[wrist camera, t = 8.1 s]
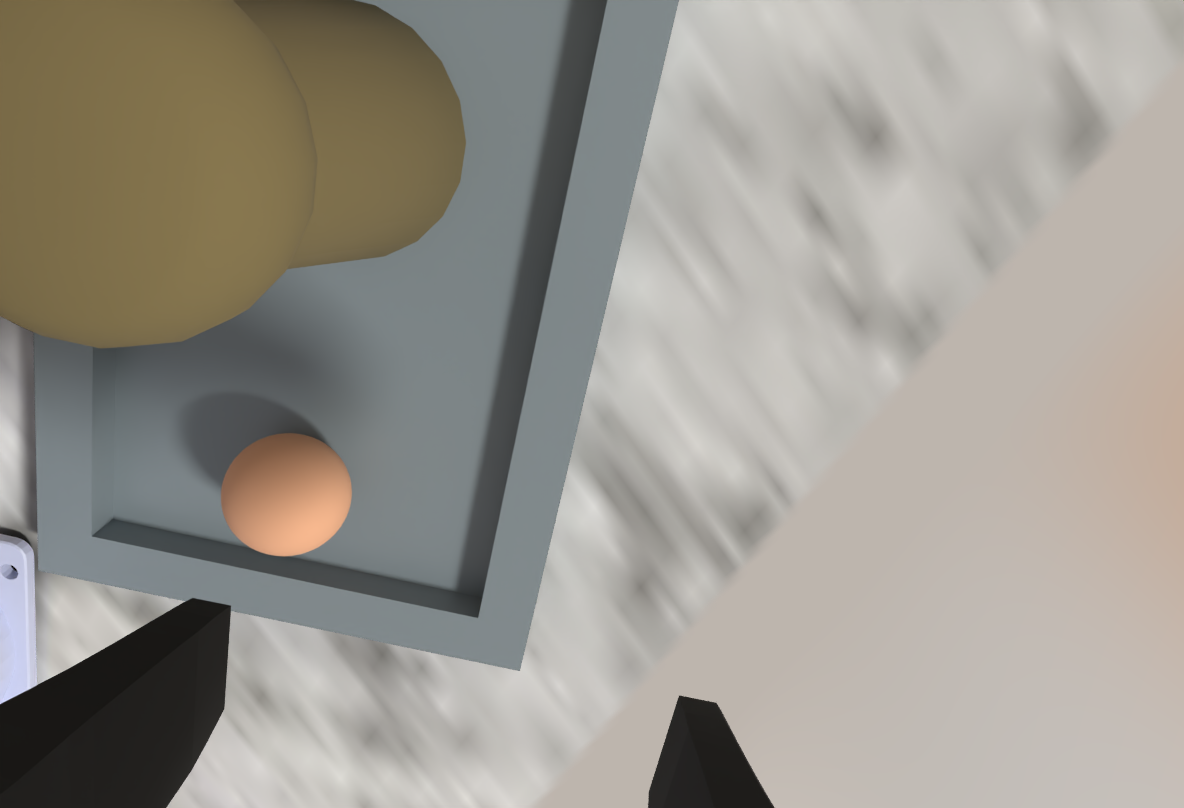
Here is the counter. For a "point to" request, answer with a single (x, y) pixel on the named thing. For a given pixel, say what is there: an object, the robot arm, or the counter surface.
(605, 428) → the counter surface
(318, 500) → the ball
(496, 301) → the tray
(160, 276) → the pepper shaker
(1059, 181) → the counter surface
